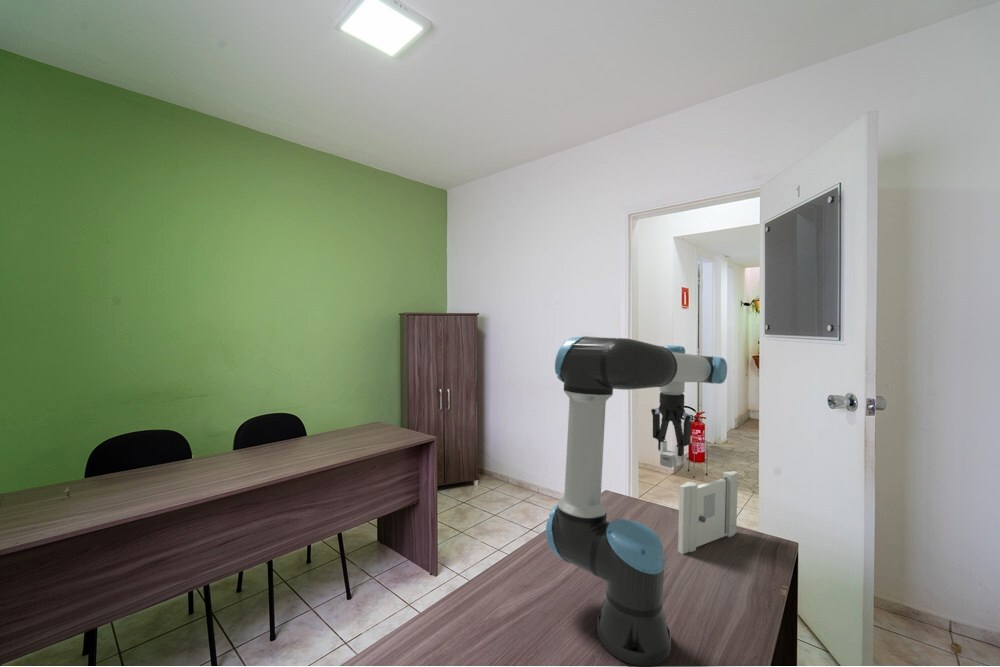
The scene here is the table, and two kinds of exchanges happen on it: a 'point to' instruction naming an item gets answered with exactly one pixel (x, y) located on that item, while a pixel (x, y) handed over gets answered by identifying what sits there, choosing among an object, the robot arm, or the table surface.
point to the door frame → (690, 512)
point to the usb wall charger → (667, 459)
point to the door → (710, 511)
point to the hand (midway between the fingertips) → (670, 462)
